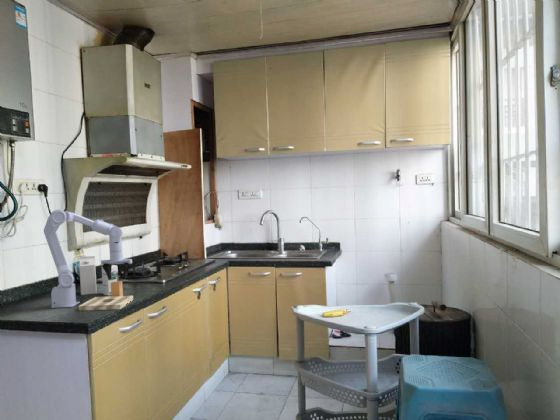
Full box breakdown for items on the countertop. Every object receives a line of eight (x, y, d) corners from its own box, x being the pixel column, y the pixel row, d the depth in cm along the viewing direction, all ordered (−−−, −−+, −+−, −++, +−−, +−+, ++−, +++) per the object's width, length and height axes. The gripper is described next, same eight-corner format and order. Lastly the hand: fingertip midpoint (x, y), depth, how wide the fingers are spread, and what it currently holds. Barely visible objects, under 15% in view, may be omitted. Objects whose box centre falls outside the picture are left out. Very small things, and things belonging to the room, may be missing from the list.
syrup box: (108, 296, 205) (107, 267, 204) (102, 294, 209) (101, 266, 208) (119, 293, 209) (117, 265, 209) (113, 292, 213) (112, 264, 212)
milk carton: (81, 292, 215) (79, 256, 214) (96, 290, 217) (94, 255, 217) (81, 295, 208) (79, 258, 207) (96, 293, 211) (94, 256, 210)
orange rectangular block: (111, 299, 197) (110, 283, 197) (114, 297, 201) (114, 281, 201) (119, 299, 197) (119, 282, 197) (122, 297, 201) (122, 281, 201)
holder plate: (78, 310, 179) (78, 306, 179) (95, 301, 195) (94, 297, 195) (120, 309, 179) (120, 304, 179) (133, 299, 195) (132, 295, 195)
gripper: (133, 249, 202) (135, 276, 203) (105, 250, 203) (106, 277, 203) (128, 251, 195) (129, 279, 196) (98, 252, 196) (99, 280, 196)
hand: (117, 278), depth 199 cm, fingers open, 7 cm apart
